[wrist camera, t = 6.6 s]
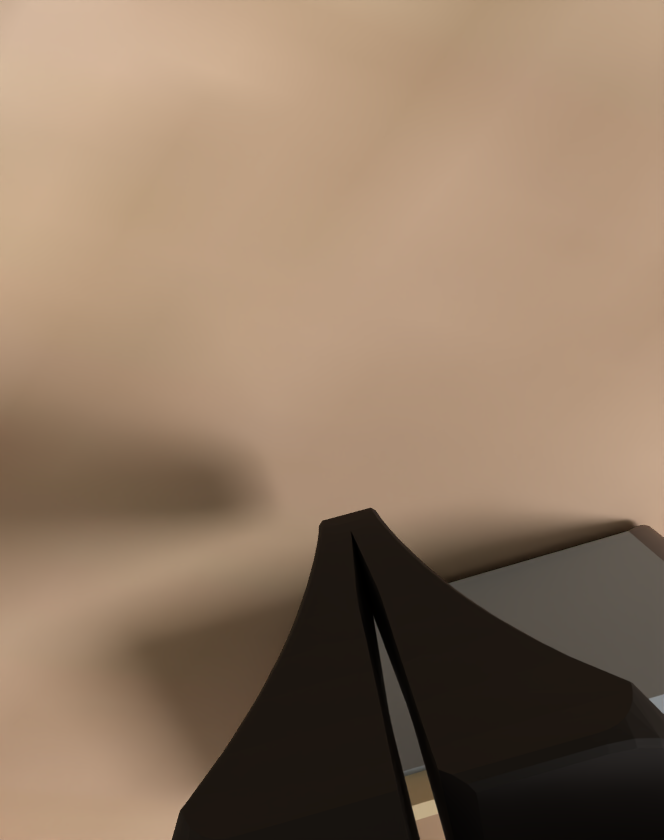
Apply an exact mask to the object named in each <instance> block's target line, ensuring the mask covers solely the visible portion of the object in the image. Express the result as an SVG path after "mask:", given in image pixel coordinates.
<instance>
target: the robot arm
mask: <svg viewBox="0 0 664 840" xmlns="http://www.w3.org/2000/svg"><path fill="white" fill-rule="evenodd" d="M373 616H374V617H373ZM374 619H375V622H376V624H377V627H378V630H379V632H380V635H381V638H382V641H383V643H384V646H385V649H386V651H387V654H388V657H389V659H390V662H391V665H392V667H393V670H394V673H395V675H396V678H397V681H398V683H399V686H400V689H401V691H402V694H403V697H404V699H405V702H406V705H407V708H408V711H409V714H410V717H411V720H412V723H413V726H414V730H415V733H416V737H417V740H418V744H419V747H420V751H421V754H422V758H423V761H424V765H425V768H426V772H427V775H428V779H429V783H430V786H431V790H432V793H433V797H434V800H435V804H436V807H437V811H438V814H439V818H440V822H441V825H442V829H443V832H444V836H445V839H446V840H664V714H663V713H662V712H661V711H660V710H659V709H658V708H657V707H656V706H655V705H654V704H653V703H652V702H651V701H650V700H649V699H648V698H647V697H646V696H645V695H644V694H643V693H642V692H641V691H640V690H639V689H638V688H637V687H636V686H635V685H634V684H633V683H632V682H630V681H628V680H625V679H623V678H620V677H618V676H616V675H613V674H611V673H608V672H606V671H604V670H601V669H599V668H596V667H594V666H592V665H589V664H587V663H584V662H582V661H580V660H577V659H575V658H572V657H570V656H568V655H566V654H564V653H562V652H560V651H558V650H556V649H554V648H552V647H550V646H548V645H546V644H544V643H542V642H540V641H538V640H536V639H535V638H533V637H531V636H529V635H528V634H526V633H524V632H522V631H520V630H519V629H517V628H515V627H513V626H512V625H510V624H508V623H506V622H504V621H503V620H501V619H499V618H497V617H496V616H494V615H493V614H491V613H490V612H488V611H487V610H485V609H483V608H482V607H480V606H479V605H477V604H476V603H474V602H473V601H471V600H470V599H469V598H467V597H466V596H464V595H463V594H462V593H460V592H459V591H457V590H456V589H455V588H453V587H452V586H451V585H450V584H448V583H447V582H446V581H444V580H443V579H442V578H441V577H440V576H438V575H437V574H436V573H435V572H434V571H432V570H431V569H430V568H429V567H428V566H426V565H425V564H424V563H423V562H422V561H421V560H420V559H419V558H418V557H417V556H416V555H415V554H413V553H412V552H411V551H410V550H409V549H408V548H407V547H406V546H405V545H404V544H403V543H402V542H401V541H400V540H399V539H398V538H397V537H396V535H395V534H394V533H393V532H392V531H391V530H390V529H389V528H388V526H387V525H386V524H385V523H384V521H383V520H382V519H381V518H380V516H379V515H378V513H377V512H376V510H374V509H372V508H368V509H364V510H361V511H357V512H353V513H349V514H346V515H342V516H338V517H335V518H331V519H327V520H324V521H322V522H321V524H320V525H319V535H318V542H317V548H316V553H315V557H314V562H313V565H312V569H311V573H310V577H309V580H308V584H307V587H306V590H305V593H304V596H303V599H302V602H301V605H300V608H299V611H298V613H297V616H296V619H295V621H294V624H293V626H292V629H291V631H290V634H289V636H288V638H287V640H286V643H285V645H284V647H283V649H282V651H281V654H280V656H279V658H278V660H277V662H276V664H275V666H274V668H273V669H272V671H271V673H270V675H269V677H268V679H267V681H266V683H265V685H264V687H263V689H262V690H261V692H260V694H259V696H258V697H257V699H256V701H255V703H254V704H253V706H252V707H251V709H250V711H249V712H248V714H247V715H246V717H245V719H244V720H243V722H242V723H241V725H240V727H239V728H238V730H237V731H236V733H235V735H234V736H233V738H232V739H231V741H230V743H229V744H228V746H227V747H226V749H225V750H224V751H223V753H222V754H221V756H220V757H219V759H218V760H217V761H216V763H215V764H214V765H213V767H212V768H211V770H210V771H209V772H208V774H207V775H206V776H205V778H204V779H203V781H202V782H201V783H200V785H199V786H198V787H197V789H196V790H195V792H194V793H193V794H192V796H191V797H190V798H189V800H188V801H187V802H186V804H185V805H184V806H183V808H182V809H181V810H180V813H179V816H178V819H177V823H176V827H175V830H174V834H173V837H172V840H420V837H419V833H418V829H417V825H416V821H415V817H414V813H413V809H412V805H411V801H410V797H409V793H408V789H407V785H406V781H405V777H404V773H403V769H402V764H401V760H400V756H399V752H398V748H397V744H396V740H395V736H394V732H393V728H392V723H391V718H390V713H389V708H388V702H387V696H386V690H385V683H384V677H383V671H382V665H381V659H380V653H379V647H378V641H377V635H376V629H375V623H374Z"/></svg>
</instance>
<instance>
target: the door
mask: <svg viewBox="0 0 664 840" xmlns="http://www.w3.org/2000/svg"><path fill="white" fill-rule="evenodd" d="M448 584H450V585H451V586H452V587H453V588H455V589H456V590H457V591H459V592H460V593H462V594H463V595H464V596H466V597H467V598H469V599H470V600H471V601H473V602H474V603H476V604H477V605H479V606H480V607H482V608H483V609H485V610H487V611H488V612H490V613H491V614H493V615H494V616H496V617H497V618H499V619H501V620H503V621H504V622H506V623H508V624H510V625H512V626H513V627H515V628H517V629H519V630H520V631H522V632H524V633H526V634H528V635H529V636H531V637H533V638H535V639H536V640H538V641H540V642H542V643H544V644H546V645H548V646H550V647H552V648H554V649H556V650H558V651H560V652H562V653H564V654H566V655H568V656H570V657H572V658H575V659H577V660H580V661H582V662H584V663H587V664H589V665H592V666H594V667H596V668H599V669H601V670H604V671H606V672H608V673H611V674H613V675H616V676H618V677H620V678H623V679H625V680H628V681H630V682H632V683H633V684H634V685H635V686H636V687H637V688H638V689H639V690H640V691H641V692H642V693H643V694H644V695H645V696H646V697H647V698H648V699H649V700H650V701H651V702H652V703H653V704H654V705H655V706H656V707H657V708H658V709H659V710H660V711H661V712H662V713H663V714H664V537H662V536H661V535H660V534H659V533H657V532H656V531H655V530H654V529H652V528H651V527H650V526H647V525H640V526H636V527H634V528H632V529H630V530H629V531H627V532H623V533H620V534H616V535H613V536H609V537H606V538H603V539H599V540H596V541H592V542H589V543H585V544H582V545H578V546H575V547H572V548H568V549H565V550H561V551H558V552H554V553H551V554H547V555H544V556H541V557H537V558H534V559H530V560H527V561H523V562H520V563H516V564H513V565H510V566H506V567H503V568H499V569H496V570H492V571H489V572H485V573H482V574H479V575H475V576H472V577H468V578H465V579H461V580H458V581H454V582H451V583H448ZM373 617H374V616H373ZM374 623H375V629H376V635H377V641H378V647H379V653H380V659H381V665H382V671H383V677H384V683H385V690H386V696H387V702H388V708H389V713H390V718H391V723H392V728H393V732H394V736H395V740H396V744H397V748H398V752H399V756H400V760H401V764H402V769H403V773H404V777H405V781H406V785H407V789H408V793H409V797H410V801H411V805H412V809H413V813H414V817H415V820H419V819H422V818H426V817H429V816H432V815H436V814H438V811H437V807H436V804H435V800H434V797H433V793H432V790H431V786H430V783H429V779H428V775H427V772H426V768H425V765H424V761H423V758H422V754H421V751H420V747H419V744H418V740H417V737H416V733H415V730H414V726H413V723H412V720H411V717H410V714H409V711H408V708H407V705H406V702H405V699H404V697H403V694H402V691H401V689H400V686H399V683H398V681H397V678H396V675H395V673H394V670H393V667H392V665H391V662H390V659H389V657H388V654H387V651H386V649H385V646H384V643H383V641H382V638H381V635H380V632H379V630H378V627H377V624H376V622H375V619H374Z"/></svg>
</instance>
